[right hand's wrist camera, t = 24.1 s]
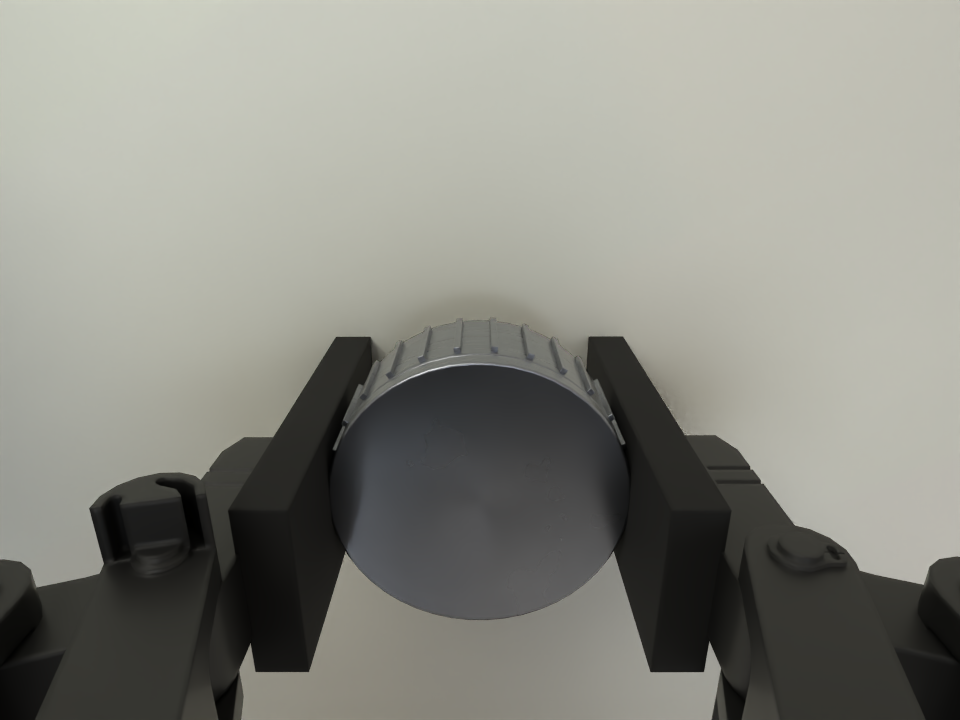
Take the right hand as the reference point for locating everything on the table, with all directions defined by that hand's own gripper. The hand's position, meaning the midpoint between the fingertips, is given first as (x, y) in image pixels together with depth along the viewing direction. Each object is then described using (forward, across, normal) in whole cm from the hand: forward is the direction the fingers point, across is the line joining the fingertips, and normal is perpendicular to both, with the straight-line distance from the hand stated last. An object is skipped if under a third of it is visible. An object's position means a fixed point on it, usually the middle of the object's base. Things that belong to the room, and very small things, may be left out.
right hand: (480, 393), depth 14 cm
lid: (-4, 0, 0) cm, 4 cm away
